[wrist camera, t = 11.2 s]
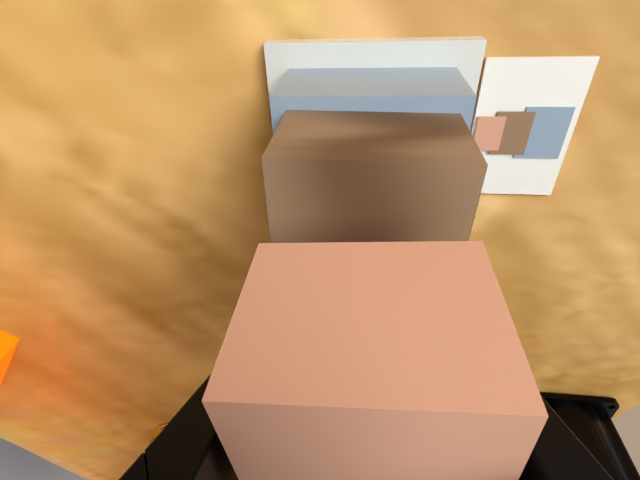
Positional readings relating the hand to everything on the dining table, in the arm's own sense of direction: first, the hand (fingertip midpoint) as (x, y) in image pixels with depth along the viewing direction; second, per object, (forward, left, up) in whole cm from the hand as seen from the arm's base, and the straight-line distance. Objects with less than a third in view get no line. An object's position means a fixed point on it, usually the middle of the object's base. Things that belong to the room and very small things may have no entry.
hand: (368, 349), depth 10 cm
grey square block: (0, 0, -12) cm, 12 cm away
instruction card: (-7, -1, -12) cm, 14 cm away
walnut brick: (0, 0, -8) cm, 8 cm away
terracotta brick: (0, 0, -1) cm, 1 cm away
